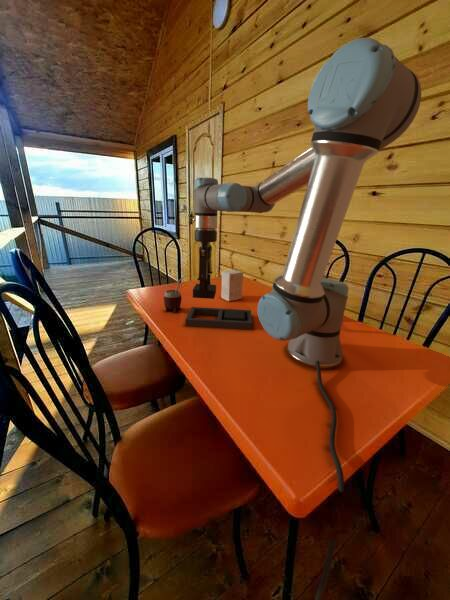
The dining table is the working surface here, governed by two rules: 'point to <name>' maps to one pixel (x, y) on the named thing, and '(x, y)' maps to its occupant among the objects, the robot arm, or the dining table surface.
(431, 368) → the dining table surface
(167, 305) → the mate gourd
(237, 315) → the pad
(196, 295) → the pad
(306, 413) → the dining table surface
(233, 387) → the dining table surface
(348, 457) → the dining table surface
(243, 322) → the frame
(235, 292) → the small box
